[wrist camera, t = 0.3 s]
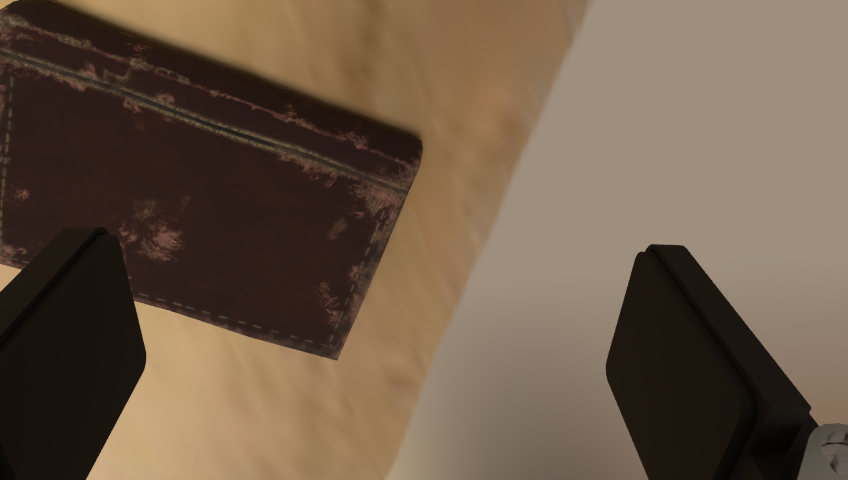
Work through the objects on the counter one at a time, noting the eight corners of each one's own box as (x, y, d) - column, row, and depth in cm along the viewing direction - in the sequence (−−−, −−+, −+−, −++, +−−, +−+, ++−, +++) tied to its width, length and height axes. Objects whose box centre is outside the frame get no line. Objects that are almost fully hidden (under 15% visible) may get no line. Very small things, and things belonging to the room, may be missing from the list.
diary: (41, -12, 36) (-8, 1, 32) (422, 130, 42) (424, 158, 37) (20, 237, 45) (-21, 273, 40) (339, 328, 50) (334, 369, 46)
